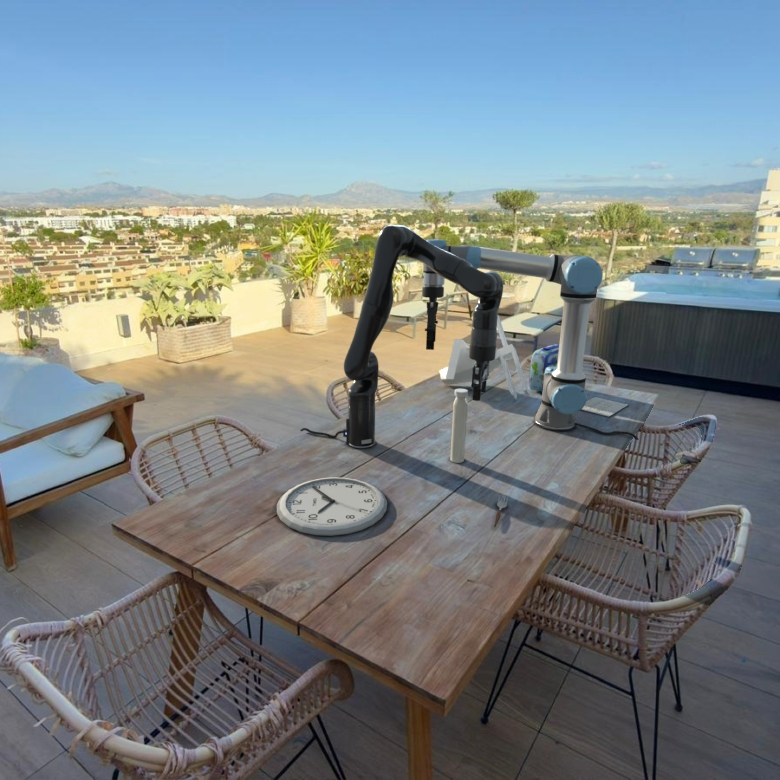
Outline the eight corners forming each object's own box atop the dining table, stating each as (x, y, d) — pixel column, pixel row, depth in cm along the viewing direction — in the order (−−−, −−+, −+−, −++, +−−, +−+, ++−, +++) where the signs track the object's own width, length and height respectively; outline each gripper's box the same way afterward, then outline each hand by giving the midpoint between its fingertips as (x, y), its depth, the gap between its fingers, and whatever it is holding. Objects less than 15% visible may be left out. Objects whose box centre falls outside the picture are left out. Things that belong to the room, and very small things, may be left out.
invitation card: (608, 416, 214) (573, 407, 224) (608, 416, 214) (573, 408, 224) (628, 404, 229) (594, 396, 238) (628, 405, 229) (594, 397, 238)
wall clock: (392, 527, 129) (268, 531, 127) (391, 533, 130) (269, 537, 127) (383, 473, 158) (282, 475, 155) (383, 478, 158) (282, 480, 156)
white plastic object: (461, 429, 252) (437, 405, 227) (444, 352, 274) (420, 323, 250) (535, 404, 240) (518, 377, 215) (510, 326, 262) (492, 293, 237)
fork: (489, 527, 133) (489, 520, 132) (498, 498, 147) (499, 492, 147) (499, 529, 132) (500, 523, 132) (508, 500, 147) (508, 494, 146)
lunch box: (545, 397, 238) (550, 352, 231) (524, 391, 245) (529, 348, 239) (572, 386, 255) (578, 344, 249) (552, 381, 262) (557, 340, 256)
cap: (452, 393, 167) (452, 389, 166) (464, 392, 168) (464, 388, 167) (457, 397, 163) (458, 392, 162) (469, 396, 164) (469, 391, 164)
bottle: (448, 458, 173) (451, 390, 166) (460, 456, 175) (464, 389, 168) (453, 463, 169) (457, 394, 162) (466, 462, 171) (470, 393, 164)
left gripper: (475, 337, 159) (471, 388, 164) (465, 346, 146) (461, 401, 151) (500, 339, 156) (495, 391, 161) (491, 349, 143) (487, 404, 148)
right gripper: (424, 281, 194) (422, 337, 200) (420, 289, 170) (418, 352, 177) (444, 282, 193) (442, 338, 200) (443, 289, 170) (440, 353, 176)
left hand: (479, 396), depth 156 cm, fingers open, 8 cm apart
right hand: (430, 345), depth 188 cm, fingers open, 13 cm apart
